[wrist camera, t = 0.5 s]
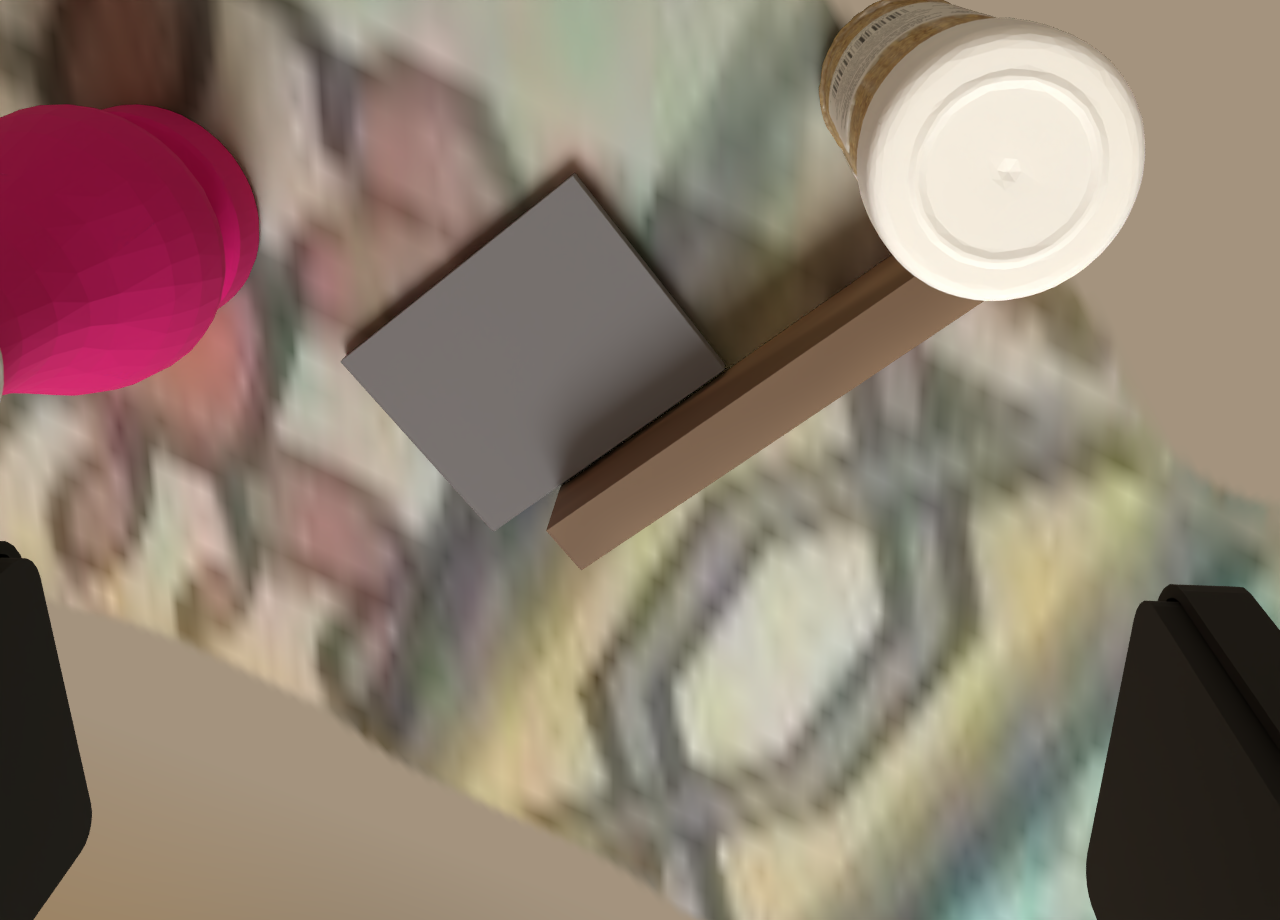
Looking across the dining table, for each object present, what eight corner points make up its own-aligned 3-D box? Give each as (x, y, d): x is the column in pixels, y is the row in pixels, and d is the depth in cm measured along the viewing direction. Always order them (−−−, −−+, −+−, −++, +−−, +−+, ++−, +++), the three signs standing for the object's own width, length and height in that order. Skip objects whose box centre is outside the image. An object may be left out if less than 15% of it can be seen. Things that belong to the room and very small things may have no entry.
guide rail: (1074, 195, 33) (1105, 219, 30) (592, 524, 38) (581, 570, 35) (1044, 148, 32) (1072, 167, 30) (560, 486, 37) (546, 530, 35)
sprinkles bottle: (871, 201, 33) (950, 357, 21) (785, 57, 32) (813, 133, 20) (1023, 105, 32) (1202, 212, 20) (939, -49, 31) (1074, -38, 18)
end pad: (724, 363, 35) (724, 369, 35) (496, 524, 38) (493, 531, 38) (575, 172, 33) (572, 176, 33) (345, 356, 36) (340, 361, 36)
